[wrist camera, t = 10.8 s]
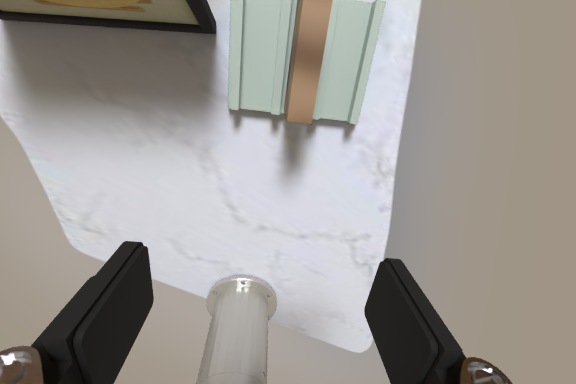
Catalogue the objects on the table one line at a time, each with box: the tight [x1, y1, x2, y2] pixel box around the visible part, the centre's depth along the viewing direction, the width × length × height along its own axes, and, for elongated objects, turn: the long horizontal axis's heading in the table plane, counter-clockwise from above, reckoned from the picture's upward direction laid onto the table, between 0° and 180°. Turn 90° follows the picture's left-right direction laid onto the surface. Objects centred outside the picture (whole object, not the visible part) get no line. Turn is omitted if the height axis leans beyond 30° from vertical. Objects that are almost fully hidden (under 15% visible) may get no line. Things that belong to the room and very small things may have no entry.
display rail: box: [228, 0, 386, 124], centre depth 31 cm, size 13×17×3 cm
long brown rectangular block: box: [284, 0, 333, 125], centre depth 28 cm, size 12×3×8 cm, turn 172°
